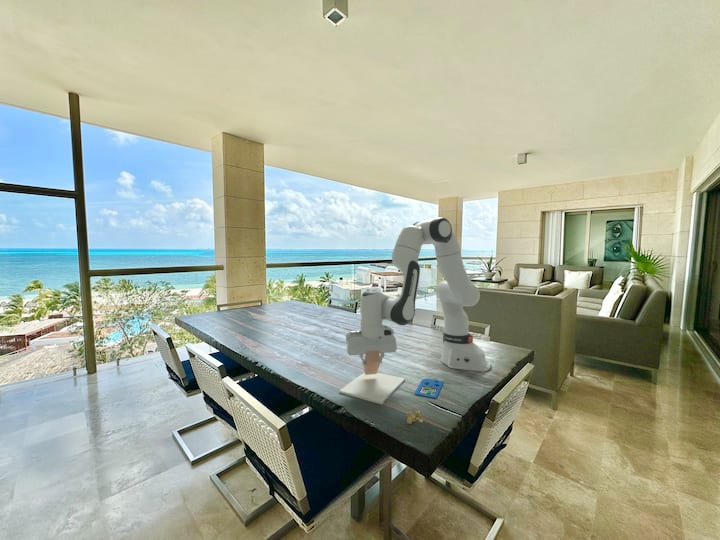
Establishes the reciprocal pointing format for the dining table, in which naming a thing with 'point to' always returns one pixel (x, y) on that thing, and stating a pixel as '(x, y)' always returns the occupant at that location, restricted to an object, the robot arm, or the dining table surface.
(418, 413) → the popcorn pieces
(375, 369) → the terracotta block
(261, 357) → the dining table surface
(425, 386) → the handheld gaming device
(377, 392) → the white mat
